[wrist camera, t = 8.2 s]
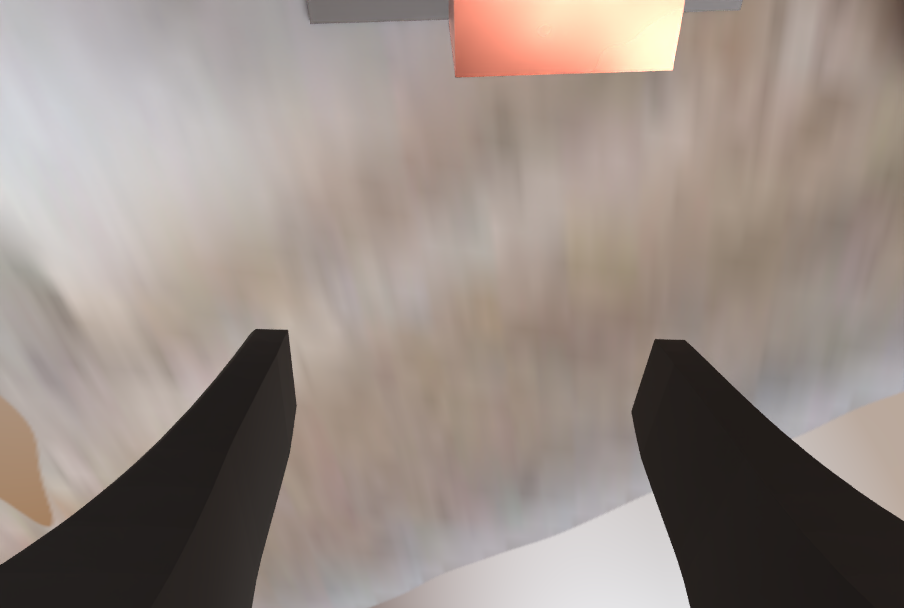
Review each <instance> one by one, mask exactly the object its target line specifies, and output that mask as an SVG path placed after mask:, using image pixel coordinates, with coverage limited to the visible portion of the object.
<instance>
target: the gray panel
mask: <svg viewBox="0 0 904 608" xmlns="http://www.w3.org/2000/svg"><path fill="white" fill-rule="evenodd" d="M307 5H308V12H309V19H310V24H321V23H353V22H384V21H416V20H447V19H449V0H307ZM741 5H742V0H685V3H684V8H683V12H698V11H730V10H740V9H741Z"/></svg>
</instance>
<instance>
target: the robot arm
mask: <svg viewBox="0 0 904 608" xmlns="http://www.w3.org/2000/svg"><path fill="white" fill-rule="evenodd" d="M296 406H297V405H296V396H295V388H294V379H293V370H292V361H291V352H290V344H289V335H288V330H270V329H255V330H254V331H253V332H252V333H251V334H250V335H249V336H248V338H247V339H246V340H245V342H244V343H243V344H242V346H241V347H240V348H239V350H238V351H237V352H236V354H235V355H234V356H233V357H232V359H231V360H230V361H229V363H228V364H227V365H226V366H225V368H224V369H223V370H222V371H221V373H220V374H219V375H218V376H217V377H216V379H215V380H214V381H213V382H212V383H211V385H210V386H209V387H208V388H207V389H206V390H205V392H204V393H203V394H202V395H201V396H200V397H199V398H198V400H197V401H196V402H195V403H194V404H193V405H192V407H191V408H190V409H189V410H188V411H187V412H186V413H185V414H184V415H183V416H182V417H181V418H180V419H179V420H178V421H177V422H176V423H175V425H174V426H173V427H172V428H171V429H170V430H169V431H168V432H167V433H166V434H165V435H164V436H163V437H162V438H161V439H160V440H159V441H158V442H157V443H156V444H155V445H154V446H153V447H152V448H151V449H150V450H149V451H148V452H147V453H146V454H145V455H144V456H142V457H141V458H140V459H139V460H138V461H137V462H136V463H135V464H134V465H133V466H131V467H130V468H129V469H128V470H127V471H126V472H125V473H124V474H122V475H121V476H120V477H119V478H118V479H117V480H116V481H114V482H113V483H112V484H111V485H110V486H108V487H107V488H106V489H105V490H103V491H102V492H101V493H100V494H98V495H97V496H96V497H95V498H94V499H92V500H91V501H90V502H89V503H87V504H86V505H85V506H84V507H82V508H81V509H80V510H79V511H77V512H76V513H75V514H73V515H72V516H71V517H69V518H68V519H67V520H65V521H64V522H63V523H61V524H60V525H59V526H57V527H56V528H54V529H53V530H51V531H50V532H48V533H47V534H46V535H44V536H43V537H41V538H40V539H38V540H37V541H35V542H34V543H33V544H31V545H30V546H28V547H27V548H25V549H24V550H22V551H21V552H19V553H18V554H16V555H15V556H13V557H12V558H10V559H9V560H7V561H6V562H4V563H3V564H1V565H0V608H252V603H253V597H254V591H255V585H256V579H257V575H258V571H259V566H260V562H261V557H262V554H263V550H264V546H265V543H266V539H267V535H268V532H269V528H270V524H271V521H272V517H273V513H274V510H275V506H276V502H277V499H278V495H279V491H280V488H281V484H282V480H283V476H284V473H285V469H286V465H287V461H288V458H289V454H290V448H291V441H292V435H293V428H294V420H295V413H296ZM631 412H632V417H633V422H634V428H635V433H636V438H637V442H638V446H639V451H640V455H641V459H642V462H643V465H644V468H645V471H646V474H647V476H648V479H649V482H650V485H651V488H652V491H653V494H654V496H655V499H656V502H657V505H658V507H659V510H660V513H661V516H662V518H663V521H664V524H665V527H666V529H667V532H668V535H669V538H670V541H671V543H672V546H673V549H674V552H675V554H676V557H677V560H678V563H679V567H680V570H681V573H682V577H683V580H684V583H685V588H686V592H687V596H688V599H689V604H690V608H904V521H903V520H901V519H900V518H898V517H896V516H895V515H893V514H892V513H890V512H889V511H887V510H885V509H884V508H882V507H881V506H879V505H878V504H876V503H875V502H873V501H872V500H870V499H869V498H868V497H866V496H865V495H863V494H862V493H860V492H859V491H857V490H856V489H855V488H853V487H852V486H851V485H849V484H848V483H847V482H845V481H844V480H842V479H841V478H840V477H838V476H837V475H836V474H834V473H833V472H832V471H830V470H829V469H828V468H826V467H825V466H823V465H822V464H821V463H820V462H819V461H817V460H816V459H815V458H813V457H812V456H811V455H810V454H808V453H807V452H806V451H805V450H804V449H802V448H801V447H800V446H799V445H798V444H796V443H795V442H794V441H793V440H792V439H791V438H789V437H788V436H787V435H786V434H785V433H783V432H782V431H781V430H780V429H779V428H778V427H777V426H775V425H774V424H773V423H772V422H771V421H770V420H769V419H768V418H766V417H765V416H764V415H763V414H762V413H761V412H760V411H759V410H758V409H757V408H755V407H754V406H753V405H752V404H751V403H750V402H749V401H748V400H747V399H746V398H745V397H744V396H743V395H742V394H741V393H740V392H738V391H737V390H736V389H735V388H734V387H733V386H732V385H731V384H730V383H729V382H728V381H727V380H726V379H725V378H724V377H723V376H722V375H721V374H720V373H719V372H718V371H717V370H716V369H715V368H714V367H713V366H712V365H711V364H710V363H709V362H708V361H707V360H706V359H705V358H703V357H702V356H701V355H700V354H699V353H698V352H697V351H696V350H695V349H694V348H693V347H692V346H691V345H690V344H689V343H687V342H686V341H685V340H664V339H655V340H654V343H653V346H652V350H651V353H650V356H649V359H648V362H647V365H646V368H645V371H644V374H643V377H642V380H641V383H640V387H639V390H638V393H637V396H636V399H635V402H634V405H633V408H632V411H631Z"/></svg>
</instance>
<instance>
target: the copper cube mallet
mask: <svg viewBox="0 0 904 608" xmlns="http://www.w3.org/2000/svg"><path fill="white" fill-rule="evenodd" d="M684 3H685V0H449V29H450V37H451V45H452V53H453V62H454V70H455V77H484V76H514V75H544V74H574V73H604V72H634V71H665V70H673V64H674V59H675V53H676V47H677V42H678V36H679V31H680V25H681V20H682V14H683V8H684Z"/></svg>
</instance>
